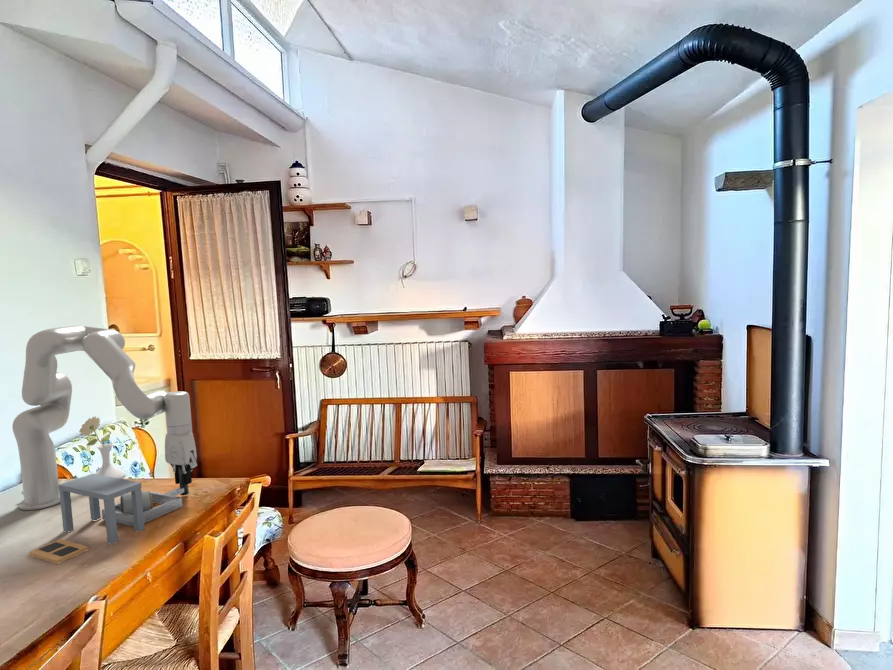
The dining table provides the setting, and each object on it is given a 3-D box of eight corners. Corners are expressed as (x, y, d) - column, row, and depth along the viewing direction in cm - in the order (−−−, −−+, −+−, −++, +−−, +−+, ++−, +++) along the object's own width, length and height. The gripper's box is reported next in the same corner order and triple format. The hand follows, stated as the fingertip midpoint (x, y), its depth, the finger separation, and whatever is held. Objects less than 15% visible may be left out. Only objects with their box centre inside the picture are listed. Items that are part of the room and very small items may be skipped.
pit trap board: (29, 555, 148) (29, 551, 148) (61, 542, 155) (60, 538, 155) (56, 564, 143) (56, 560, 143) (88, 550, 150) (87, 546, 150)
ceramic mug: (154, 516, 171) (152, 491, 170) (124, 524, 166) (121, 498, 165) (148, 506, 179) (146, 483, 179) (119, 513, 174) (116, 489, 174)
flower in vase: (117, 475, 211) (111, 409, 208) (132, 480, 204) (126, 413, 202) (78, 486, 200) (72, 417, 198) (93, 492, 193) (86, 421, 191)
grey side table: (62, 531, 162) (58, 484, 161) (97, 518, 171) (92, 473, 170) (111, 544, 153) (107, 495, 151) (145, 529, 162) (141, 482, 160)
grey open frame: (102, 519, 169) (99, 485, 168) (172, 491, 191) (170, 461, 190) (135, 527, 163) (132, 492, 162) (203, 497, 184) (201, 466, 183)
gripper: (152, 430, 184) (157, 484, 186) (186, 434, 177) (191, 490, 179) (172, 424, 191) (176, 476, 193) (206, 428, 184) (210, 482, 186)
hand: (183, 482), depth 186 cm, fingers closed on grey open frame, 2 cm apart
